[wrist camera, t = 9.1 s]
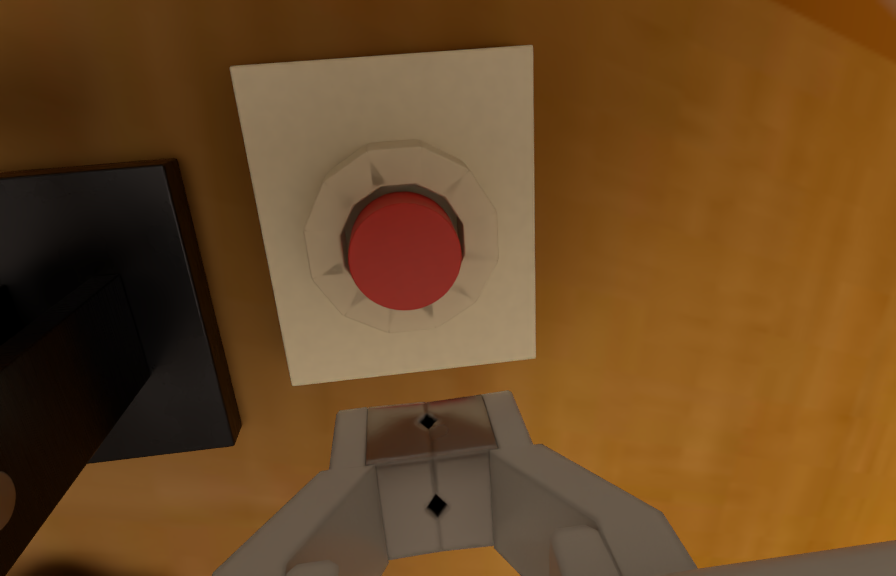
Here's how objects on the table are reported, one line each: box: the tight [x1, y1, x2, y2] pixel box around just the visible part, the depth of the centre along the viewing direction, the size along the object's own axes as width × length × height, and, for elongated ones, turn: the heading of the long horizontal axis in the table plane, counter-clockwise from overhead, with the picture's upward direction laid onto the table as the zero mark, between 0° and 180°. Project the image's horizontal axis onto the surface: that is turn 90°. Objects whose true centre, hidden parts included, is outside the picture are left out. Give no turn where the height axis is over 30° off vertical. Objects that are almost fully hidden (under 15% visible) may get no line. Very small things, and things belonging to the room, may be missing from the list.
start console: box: [230, 45, 536, 386], centre depth 21 cm, size 12×10×4 cm
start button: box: [348, 191, 462, 310], centre depth 19 cm, size 4×4×2 cm
